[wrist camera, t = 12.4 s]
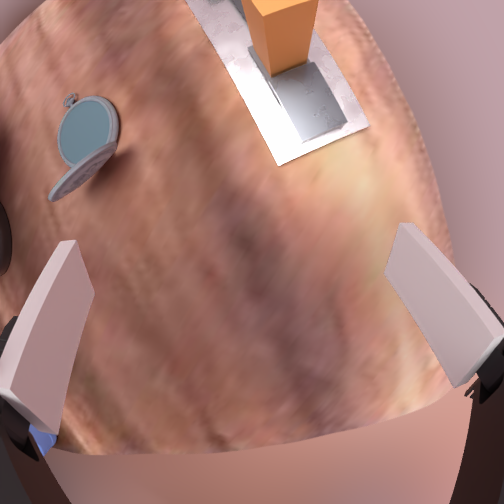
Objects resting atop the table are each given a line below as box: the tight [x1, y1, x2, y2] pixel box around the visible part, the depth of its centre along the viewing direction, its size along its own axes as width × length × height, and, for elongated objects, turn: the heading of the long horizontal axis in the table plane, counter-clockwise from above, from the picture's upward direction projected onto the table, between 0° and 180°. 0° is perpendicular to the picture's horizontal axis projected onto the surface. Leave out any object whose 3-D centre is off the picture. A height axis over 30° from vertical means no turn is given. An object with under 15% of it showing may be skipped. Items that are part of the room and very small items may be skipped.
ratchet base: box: [185, 0, 370, 166], centre depth 27 cm, size 28×11×4 cm, turn 26°
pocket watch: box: [48, 93, 119, 202], centre depth 28 cm, size 10×11×15 cm
